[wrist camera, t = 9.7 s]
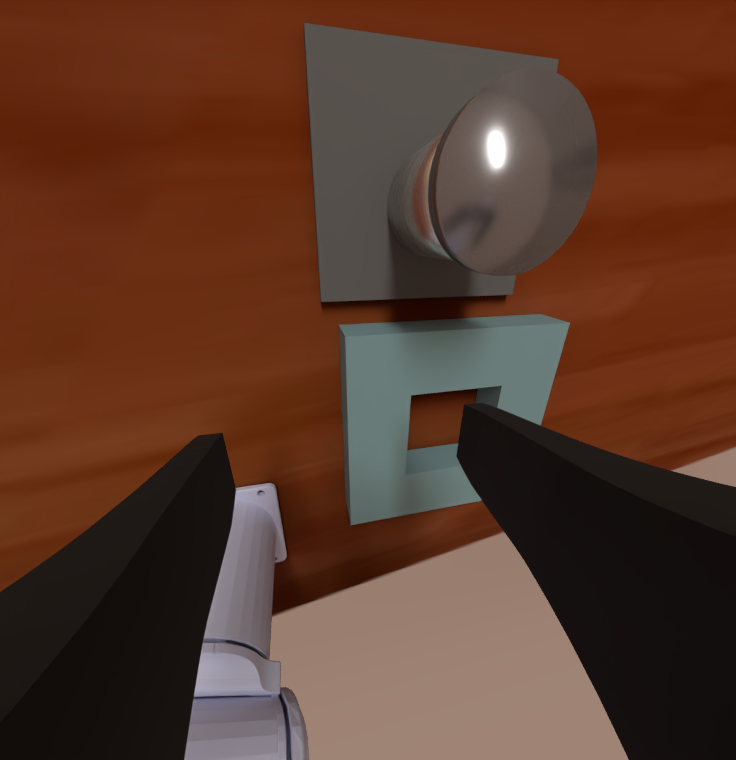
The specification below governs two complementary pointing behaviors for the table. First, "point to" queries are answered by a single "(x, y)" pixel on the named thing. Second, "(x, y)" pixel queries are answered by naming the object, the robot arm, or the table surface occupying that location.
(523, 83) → the door knob
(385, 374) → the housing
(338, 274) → the rubber mat
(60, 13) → the table surface
